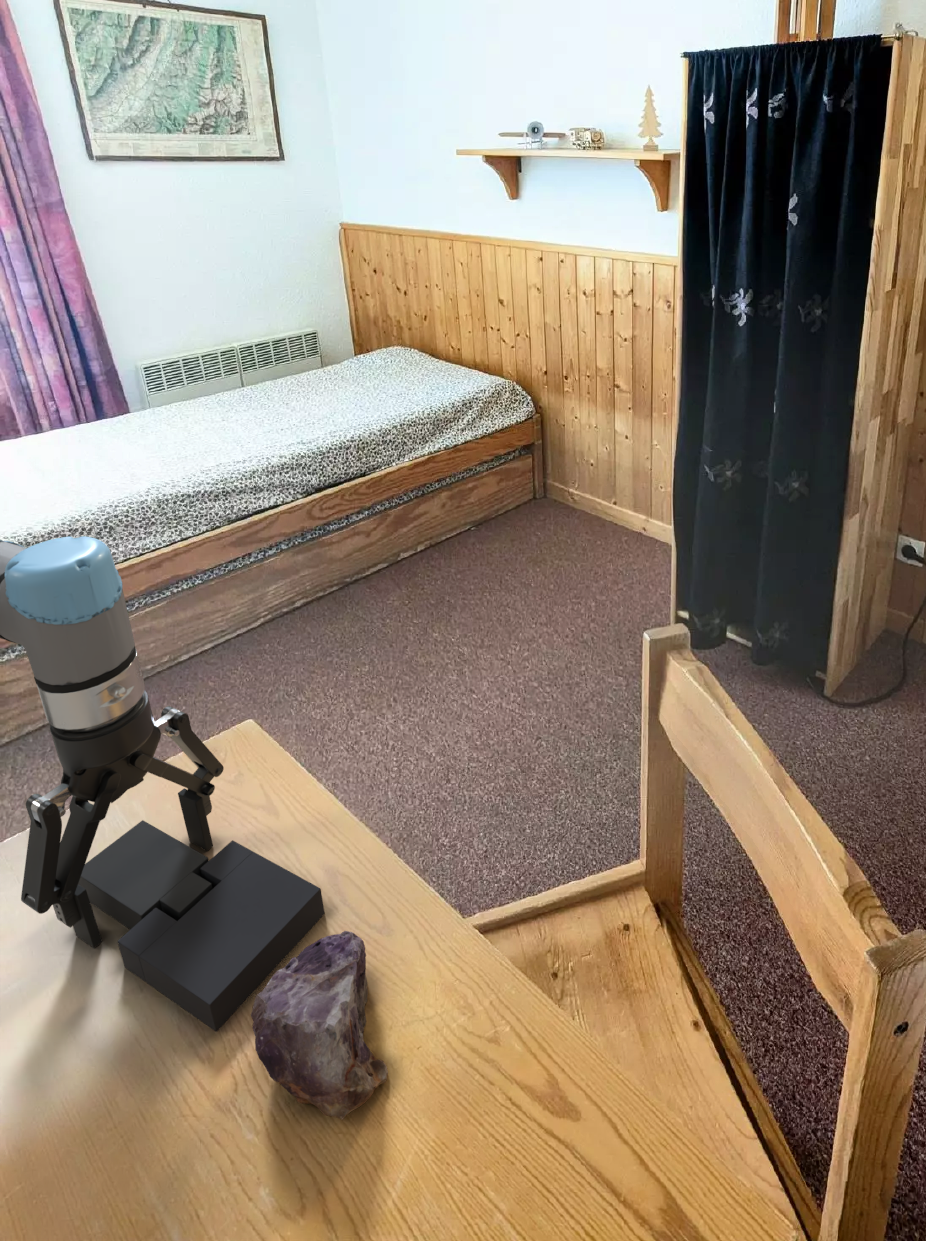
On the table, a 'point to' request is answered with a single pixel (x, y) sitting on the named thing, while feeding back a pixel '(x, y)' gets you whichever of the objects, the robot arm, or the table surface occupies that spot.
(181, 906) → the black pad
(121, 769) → the robot arm
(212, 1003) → the dock pad
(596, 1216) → the table surface
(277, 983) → the rock
